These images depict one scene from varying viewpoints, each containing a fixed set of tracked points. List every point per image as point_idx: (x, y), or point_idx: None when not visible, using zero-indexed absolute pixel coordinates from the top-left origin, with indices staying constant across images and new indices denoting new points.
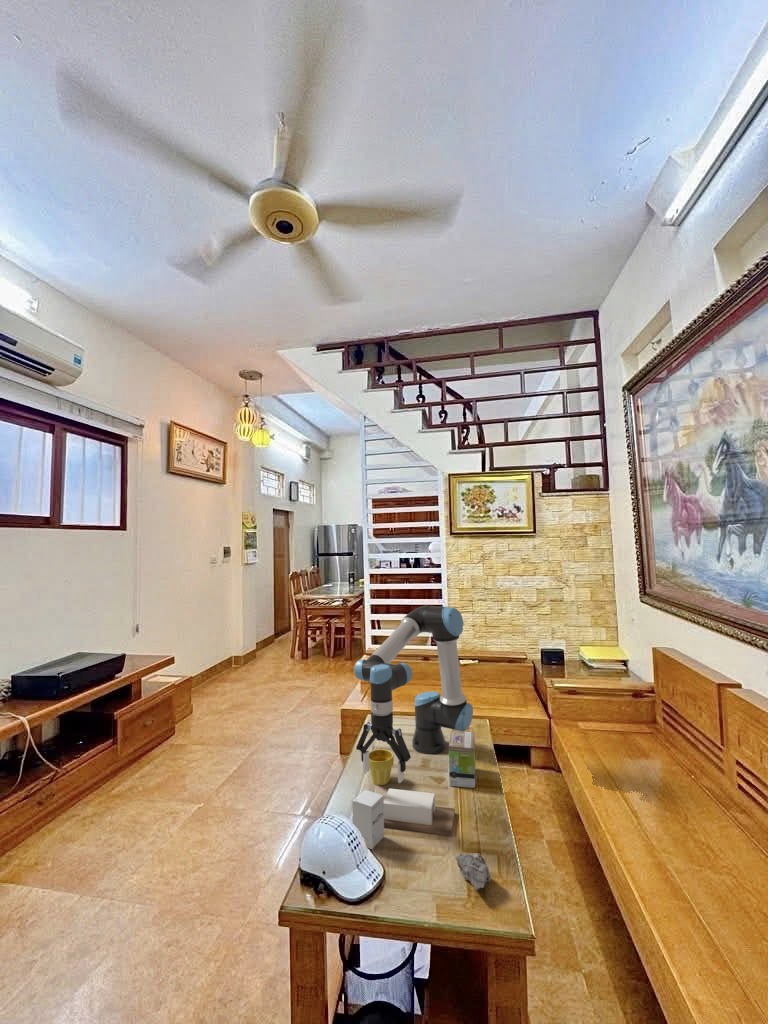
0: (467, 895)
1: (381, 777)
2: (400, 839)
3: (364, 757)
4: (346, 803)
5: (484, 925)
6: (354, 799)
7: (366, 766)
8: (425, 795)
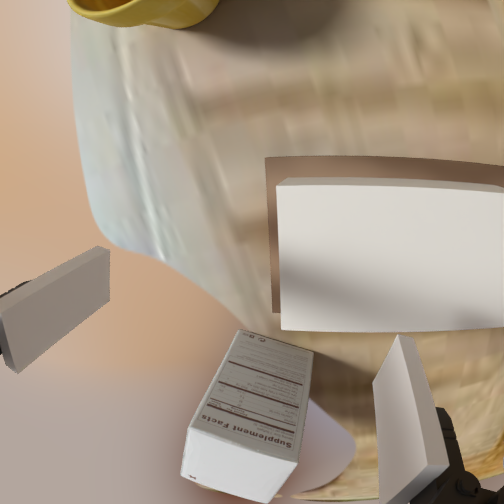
0: (496, 446)
1: (184, 16)
2: (371, 352)
3: (33, 357)
4: (114, 192)
5: (496, 472)
6: (184, 473)
7: (83, 303)
8: (492, 223)
